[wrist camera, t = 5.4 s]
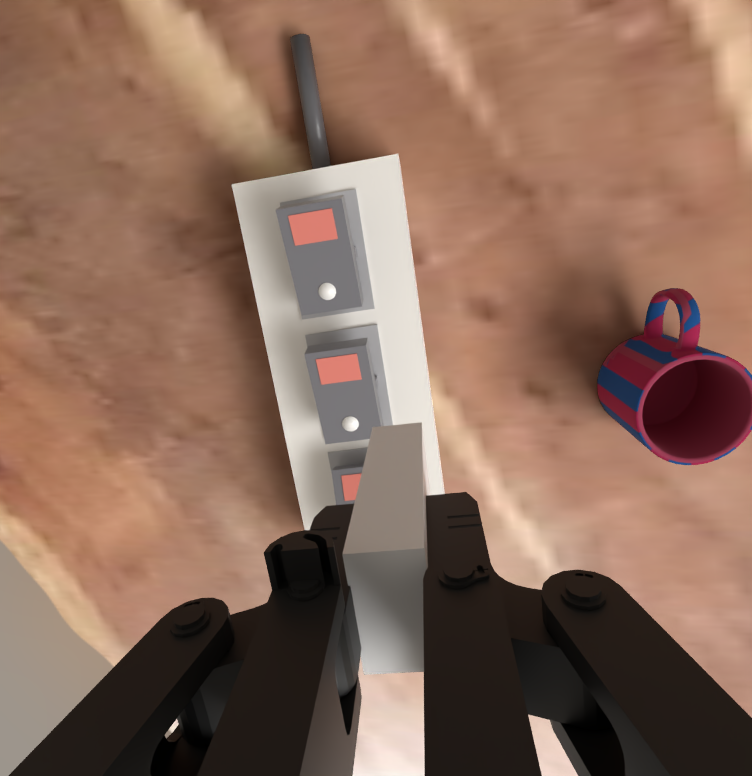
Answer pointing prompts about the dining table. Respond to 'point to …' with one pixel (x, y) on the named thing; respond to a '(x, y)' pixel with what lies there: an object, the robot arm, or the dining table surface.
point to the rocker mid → (344, 389)
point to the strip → (373, 320)
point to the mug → (677, 389)
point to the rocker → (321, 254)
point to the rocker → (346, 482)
